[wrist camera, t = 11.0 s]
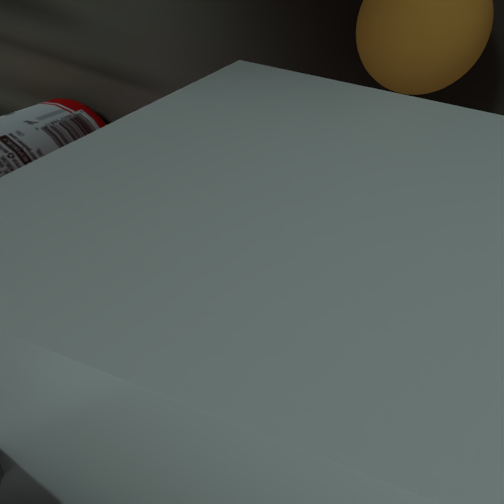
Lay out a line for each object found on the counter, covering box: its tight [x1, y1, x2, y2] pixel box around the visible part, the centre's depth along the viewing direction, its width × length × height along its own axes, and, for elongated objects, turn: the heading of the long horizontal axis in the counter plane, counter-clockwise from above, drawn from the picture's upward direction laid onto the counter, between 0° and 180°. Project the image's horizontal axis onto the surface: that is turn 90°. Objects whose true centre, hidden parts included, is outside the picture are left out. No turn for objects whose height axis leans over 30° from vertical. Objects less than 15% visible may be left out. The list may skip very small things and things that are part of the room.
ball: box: [356, 0, 494, 95], centre depth 18 cm, size 5×5×5 cm
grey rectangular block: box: [0, 60, 504, 504], centre depth 8 cm, size 7×7×9 cm
